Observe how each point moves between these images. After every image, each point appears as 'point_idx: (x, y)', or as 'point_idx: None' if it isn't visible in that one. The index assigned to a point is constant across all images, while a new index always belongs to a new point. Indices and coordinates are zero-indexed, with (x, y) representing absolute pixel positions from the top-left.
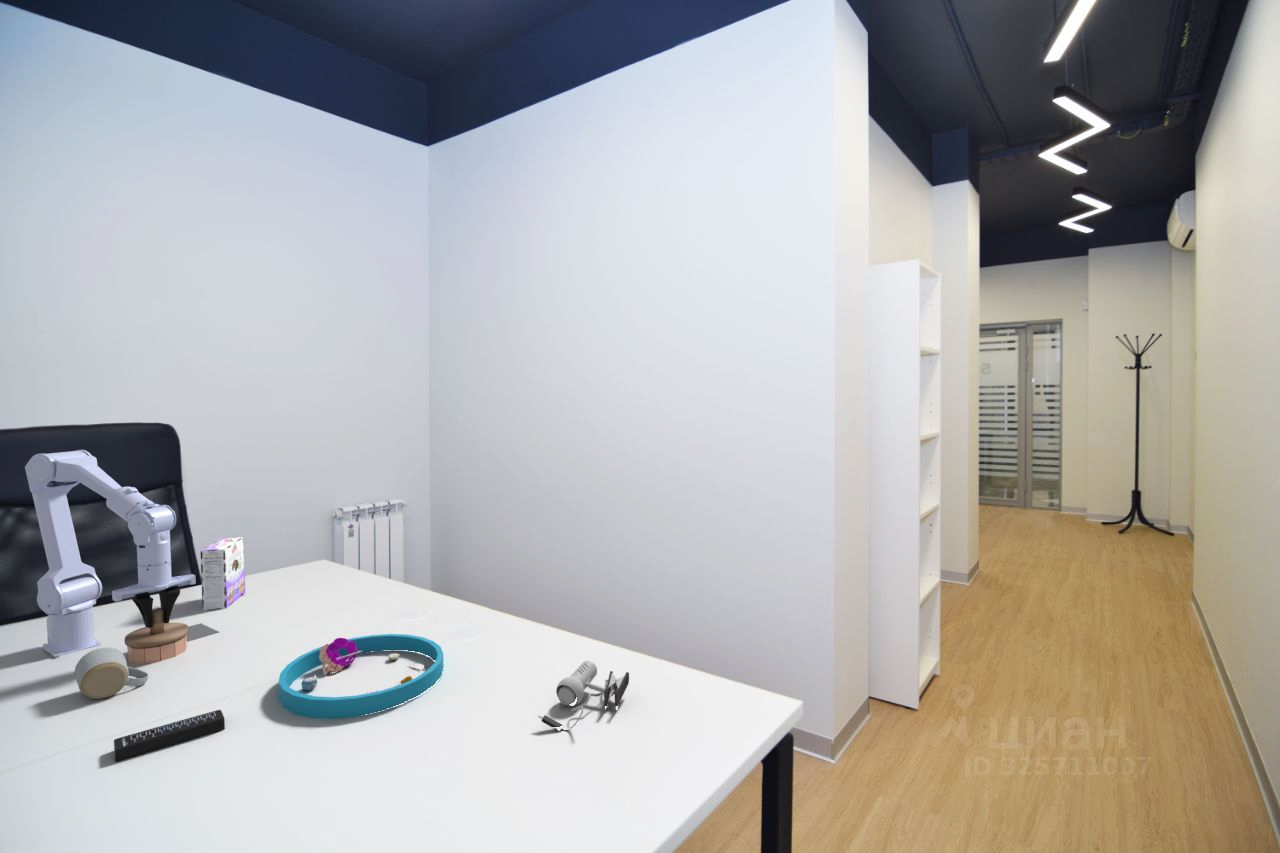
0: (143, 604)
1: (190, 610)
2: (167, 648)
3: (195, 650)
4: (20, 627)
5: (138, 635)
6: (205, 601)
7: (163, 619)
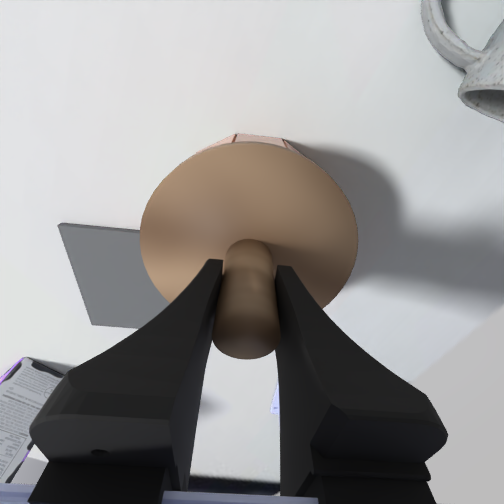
0: (391, 376)
1: None
2: None
3: (162, 144)
4: None
5: None
6: None
7: (225, 280)
